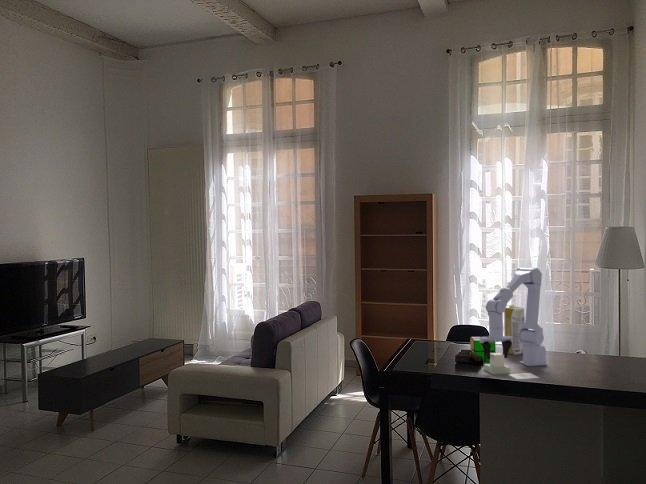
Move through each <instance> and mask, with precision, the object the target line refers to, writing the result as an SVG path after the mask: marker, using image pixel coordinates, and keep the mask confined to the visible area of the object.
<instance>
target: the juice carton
mask: <svg viewBox="0 0 646 484" xmlns="http://www.w3.org/2000/svg"><path fill="white" fill-rule="evenodd" d="M525 319H526V312H525V307H522V306H515V305H514V304H509V305H508V307H506V309H505V312H503V330H504V336H512V337H513V341H511V342H512V345H511V347H510V349H509V351H508V355H510V354H511V355H515V356H516V355H517V356H518V355H521V354H522V355H523V344H521V341H520V340H519V337H518V334H519V331H520V327H521V325H523V324H524V323H525Z"/></svg>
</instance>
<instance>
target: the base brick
mask: <svg viewBox="0 0 646 484" xmlns="http://www.w3.org/2000/svg"><path fill="white" fill-rule="evenodd" d="M483 370H484V371H485V372H488V373H489V374H491V375H502V374H503V375H505V374H506V375H507V374H511V367H510V366H508V365H507V364H504V366H503V367H494V366H492V365H490V363H484V364H483Z"/></svg>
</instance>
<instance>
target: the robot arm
mask: <svg viewBox="0 0 646 484" xmlns="http://www.w3.org/2000/svg"><path fill="white" fill-rule="evenodd" d="M542 277H543V273H542V272H541V270H540V269H539V268H538V267H534V268H533V267H518V268H517V269H516V270H515V271H514V276H513V278H512V279H511V280H510V281H509V283H508V285H506V287H503V288H500V289H499V291H498V293H496V295H495V296H494V297H493V298H492V299H489V300H488V301H487V302H486V304H485V310H486V312H487V316H488V333H489V335H488V336H482V337H483V338H480V343H481V345H482V346H483V348H484V351H485V354H486V358H487V359H490V348H491V344H489V342H495V343H499V342H501V347H502V354H503V355H504V360H506V359H508V355H509V354H508V351H509V349H510V347H511V345H512V342H511V341H513V337H512V336H505V335H504V312H505V309H506V308H507V306H508V305H507V304H508V303H509V302H510V301H511V299H512V298H513V297H514V293H515V291H516V290H517V289H518V288H519V287H521V285H524V286H525V287H526V288H527V294H526V297H527V298H526V305H525V306H526V307H525V323H524V324H523V325H521V327H520V331H519V334H518V337H519V340H520V341H521V344H523V353H522V360H519V363H520V364H522V365H525V366H527V367H535V366H537V367H539V366H547V365H548V364H547V349H546V347H545V345H544V344H543V342H544V340H545V339H544V338H545V337H544V328H543V327H541V326H540V325H539V314H540V313H539V311H540V310H539V309H540V299H541V289H542V288H541V287H542V279H543V278H542ZM493 340H495V341H493Z"/></svg>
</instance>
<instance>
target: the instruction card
mask: <svg viewBox="0 0 646 484" xmlns="http://www.w3.org/2000/svg"><path fill="white" fill-rule="evenodd" d="M507 375H508V376H510V377H512V378H514V379H516V380H526V379H527V380H529V379H541V378H540V376H537V375H535V374H533V373H531V372H524V373H507Z"/></svg>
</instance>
